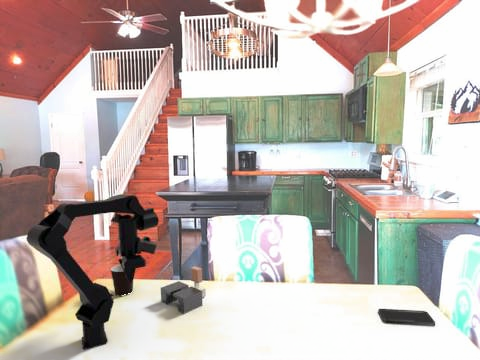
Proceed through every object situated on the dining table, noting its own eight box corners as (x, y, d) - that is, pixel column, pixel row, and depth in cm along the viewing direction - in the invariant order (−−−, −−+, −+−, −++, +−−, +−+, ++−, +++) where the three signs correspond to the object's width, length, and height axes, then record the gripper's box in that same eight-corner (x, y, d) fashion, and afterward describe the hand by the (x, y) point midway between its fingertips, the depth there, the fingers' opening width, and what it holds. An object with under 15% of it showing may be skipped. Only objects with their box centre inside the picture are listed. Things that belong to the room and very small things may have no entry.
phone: (377, 308, 110) (426, 310, 107) (377, 311, 110) (426, 314, 108) (383, 320, 102) (436, 323, 100) (383, 324, 102) (436, 327, 100)
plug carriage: (184, 305, 117) (183, 275, 116) (176, 301, 120) (175, 272, 119) (205, 296, 124) (204, 268, 123) (197, 292, 127) (196, 265, 126)
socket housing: (184, 313, 111) (183, 298, 111) (161, 301, 121) (160, 287, 120) (202, 305, 117) (201, 290, 117) (179, 294, 126) (178, 281, 126)
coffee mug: (131, 297, 125) (129, 271, 124) (108, 297, 126) (106, 271, 125) (140, 284, 137) (139, 261, 136) (120, 285, 137) (118, 261, 136)
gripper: (161, 236, 101) (163, 286, 102) (147, 225, 117) (149, 268, 118) (122, 242, 95) (126, 295, 97) (113, 229, 112) (116, 274, 113)
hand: (130, 282), depth 106 cm, fingers closed
